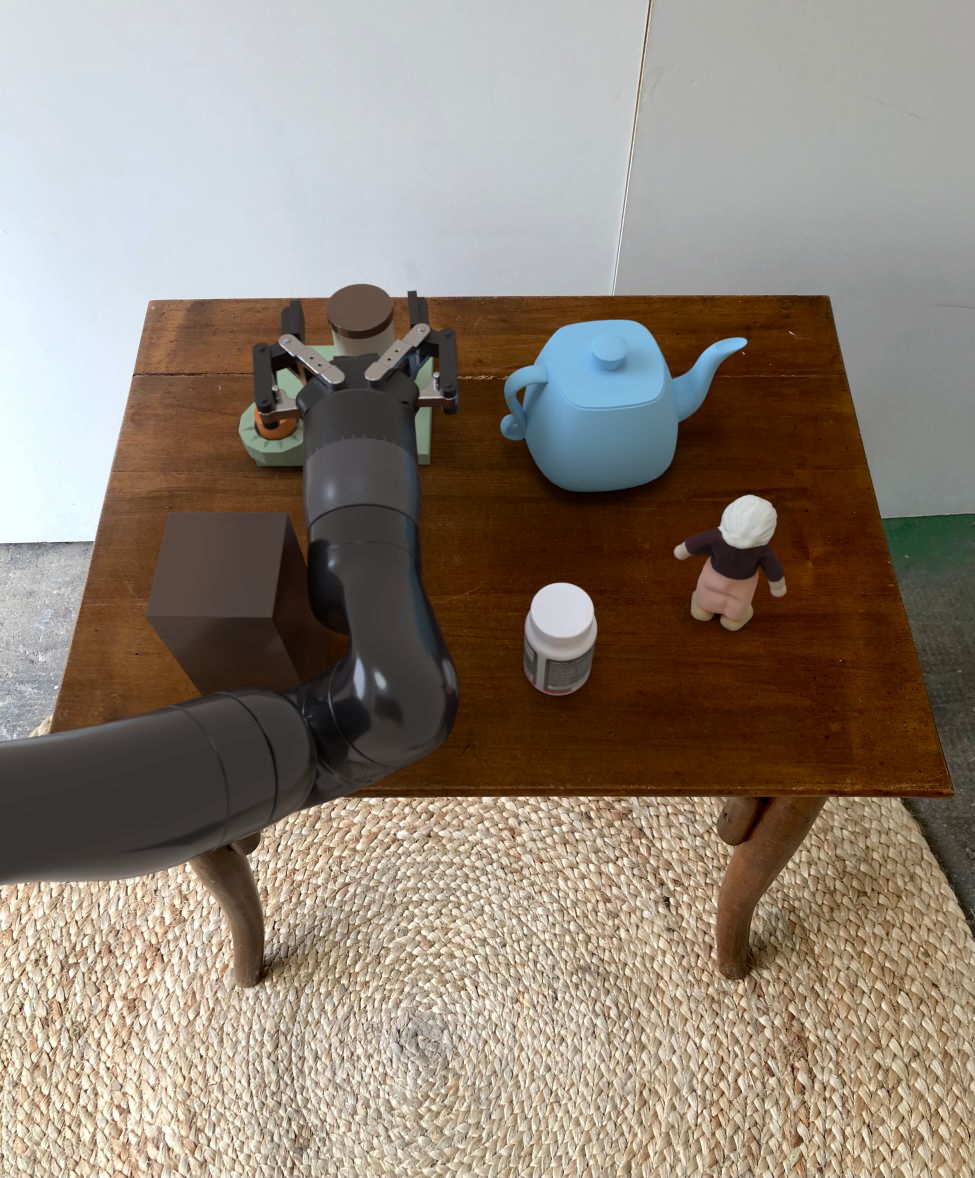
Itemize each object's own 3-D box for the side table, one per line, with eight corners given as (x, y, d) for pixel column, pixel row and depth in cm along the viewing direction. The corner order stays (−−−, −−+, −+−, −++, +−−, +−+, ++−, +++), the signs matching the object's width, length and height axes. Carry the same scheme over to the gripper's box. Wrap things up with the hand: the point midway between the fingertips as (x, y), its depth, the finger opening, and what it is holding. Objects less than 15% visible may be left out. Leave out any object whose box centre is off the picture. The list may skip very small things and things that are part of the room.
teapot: (771, 398, 62) (511, 422, 61) (736, 491, 71) (509, 513, 71) (727, 273, 68) (490, 293, 68) (700, 373, 78) (491, 391, 77)
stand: (218, 720, 62) (144, 616, 49) (234, 630, 66) (168, 511, 53) (320, 721, 62) (272, 617, 49) (330, 630, 66) (288, 511, 53)
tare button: (256, 440, 71) (251, 426, 70) (261, 411, 73) (256, 396, 71) (294, 440, 71) (290, 425, 70) (298, 411, 73) (294, 396, 71)
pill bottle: (602, 656, 64) (615, 598, 57) (569, 709, 62) (577, 656, 55) (544, 625, 66) (550, 564, 58) (510, 675, 64) (511, 619, 56)
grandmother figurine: (768, 594, 67) (820, 492, 56) (764, 640, 65) (817, 544, 54) (663, 575, 68) (695, 471, 57) (657, 619, 66) (688, 520, 55)
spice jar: (331, 393, 75) (311, 309, 67) (372, 358, 77) (358, 273, 69) (375, 422, 74) (360, 340, 66) (416, 386, 75) (406, 302, 68)
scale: (244, 476, 73) (234, 452, 70) (263, 357, 79) (255, 331, 77) (429, 474, 73) (427, 450, 70) (434, 355, 79) (431, 329, 76)
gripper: (469, 432, 56) (448, 254, 64) (237, 451, 55) (245, 270, 63) (472, 502, 62) (453, 333, 70) (264, 521, 62) (269, 348, 70)
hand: (355, 303), depth 67 cm, fingers open, 8 cm apart
